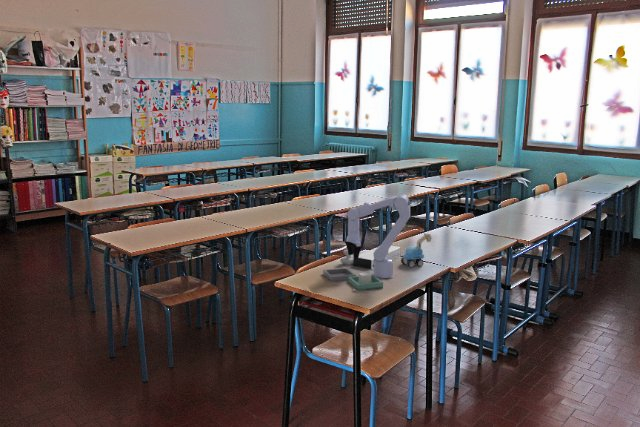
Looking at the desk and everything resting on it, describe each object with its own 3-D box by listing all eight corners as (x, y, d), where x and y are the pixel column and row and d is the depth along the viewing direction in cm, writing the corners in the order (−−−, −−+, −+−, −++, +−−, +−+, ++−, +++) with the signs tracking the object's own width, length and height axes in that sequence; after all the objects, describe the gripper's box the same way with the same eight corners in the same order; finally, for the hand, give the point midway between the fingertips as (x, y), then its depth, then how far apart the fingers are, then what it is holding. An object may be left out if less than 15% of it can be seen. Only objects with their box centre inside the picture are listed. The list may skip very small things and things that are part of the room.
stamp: (358, 265, 307) (358, 250, 306) (351, 267, 302) (351, 252, 301) (345, 262, 313) (345, 247, 311) (338, 264, 308) (338, 249, 306)
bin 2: (372, 280, 281) (372, 274, 280) (382, 288, 268) (383, 282, 268) (348, 282, 277) (348, 276, 276) (357, 290, 264) (357, 284, 264)
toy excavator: (433, 265, 307) (435, 234, 304) (407, 268, 301) (408, 237, 298) (425, 261, 315) (426, 231, 312) (399, 264, 309) (400, 234, 306)
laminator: (383, 254, 331) (383, 244, 329) (402, 257, 324) (402, 247, 323) (353, 267, 303) (353, 256, 302) (372, 271, 296) (373, 260, 295)
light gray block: (367, 282, 275) (368, 272, 274) (371, 284, 271) (371, 274, 270) (358, 283, 273) (358, 273, 272) (361, 285, 270) (361, 275, 269)
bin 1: (346, 273, 292) (346, 267, 292) (355, 280, 280) (356, 274, 279) (323, 275, 288) (323, 269, 288) (331, 283, 276) (331, 277, 275)
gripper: (341, 228, 292) (341, 253, 294) (351, 234, 278) (351, 261, 281) (354, 227, 294) (353, 252, 296) (364, 233, 280) (364, 259, 283)
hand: (353, 256), depth 289 cm, fingers open, 7 cm apart
